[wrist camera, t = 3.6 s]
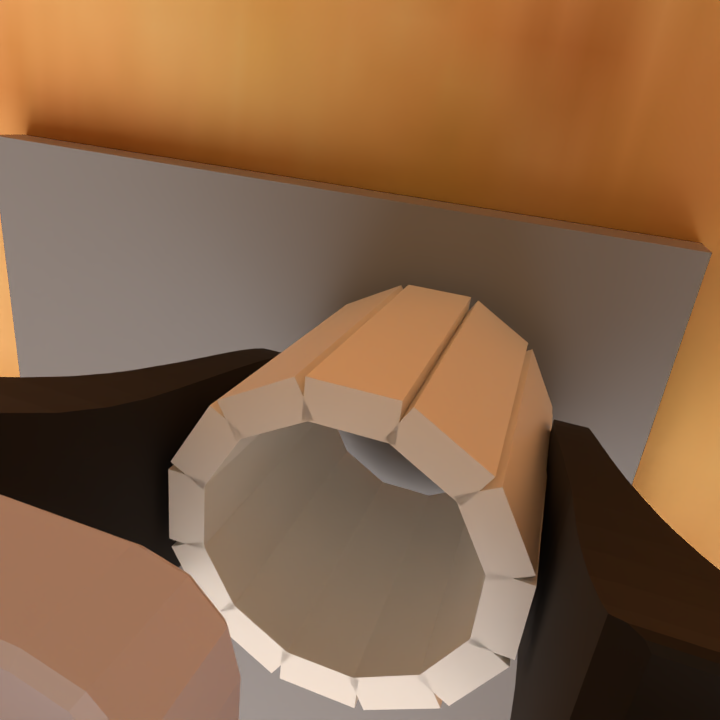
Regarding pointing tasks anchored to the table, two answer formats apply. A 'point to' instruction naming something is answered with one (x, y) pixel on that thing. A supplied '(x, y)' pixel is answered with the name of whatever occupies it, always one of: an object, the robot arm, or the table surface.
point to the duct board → (327, 305)
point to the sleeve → (374, 502)
